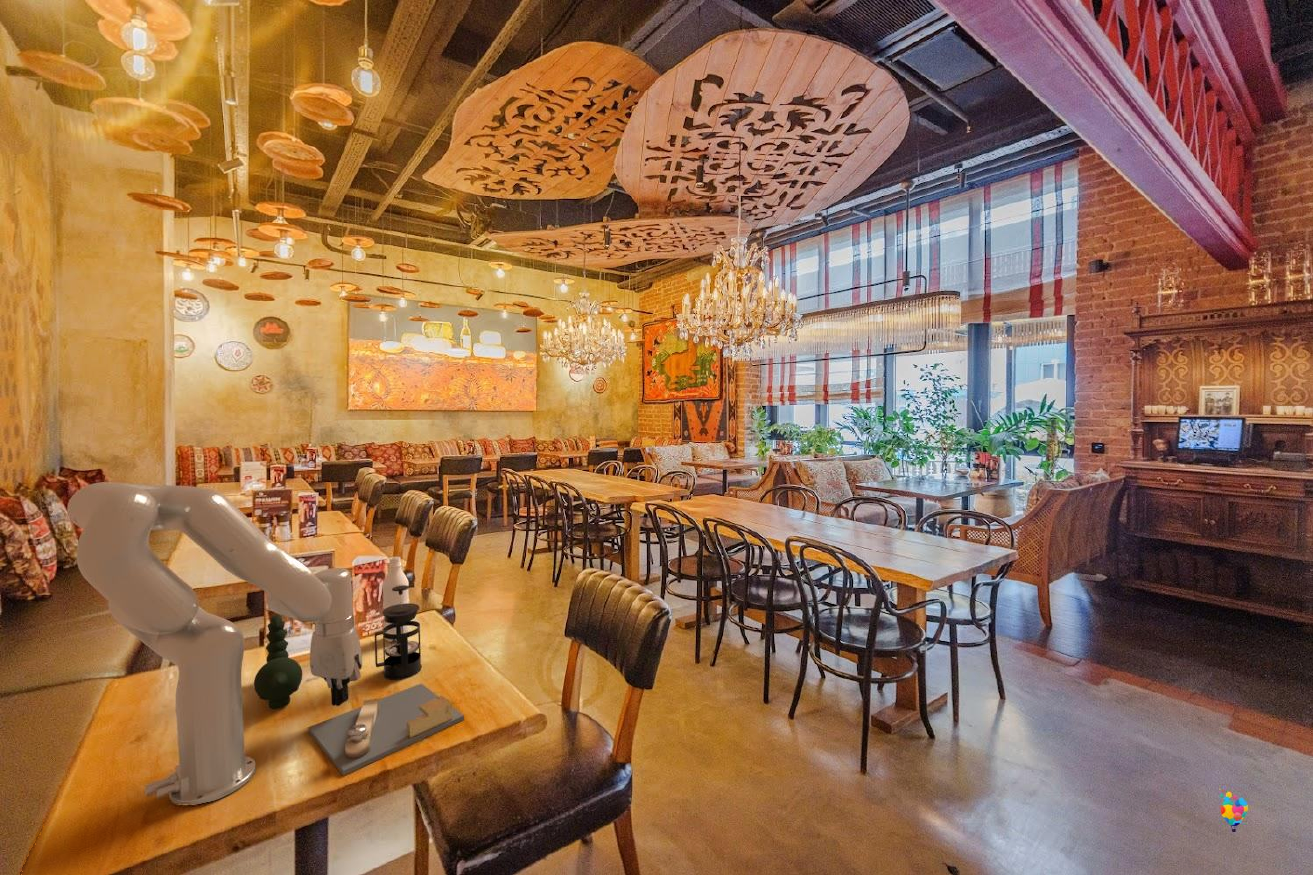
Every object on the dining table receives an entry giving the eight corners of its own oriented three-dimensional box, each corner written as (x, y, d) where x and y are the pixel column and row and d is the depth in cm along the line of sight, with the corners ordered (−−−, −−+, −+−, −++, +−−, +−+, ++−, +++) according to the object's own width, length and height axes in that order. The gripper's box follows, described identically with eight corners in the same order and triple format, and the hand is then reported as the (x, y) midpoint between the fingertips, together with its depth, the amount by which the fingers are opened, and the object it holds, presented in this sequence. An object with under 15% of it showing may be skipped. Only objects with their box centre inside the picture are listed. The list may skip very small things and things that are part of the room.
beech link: (367, 755, 109) (367, 744, 109) (343, 760, 108) (342, 749, 107) (382, 707, 126) (382, 697, 126) (361, 710, 125) (360, 700, 125)
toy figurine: (256, 687, 140) (254, 726, 120) (253, 614, 140) (250, 640, 120) (300, 677, 145) (305, 712, 125) (297, 606, 146) (301, 629, 125)
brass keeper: (410, 738, 115) (409, 721, 115) (400, 730, 118) (400, 713, 118) (452, 719, 122) (452, 702, 122) (442, 711, 125) (442, 695, 125)
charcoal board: (343, 775, 105) (343, 770, 105) (308, 731, 119) (308, 727, 119) (464, 719, 124) (463, 715, 123) (421, 687, 137) (421, 683, 137)
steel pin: (351, 746, 108) (351, 735, 108) (345, 739, 110) (345, 729, 110) (368, 739, 110) (368, 728, 110) (362, 732, 113) (362, 722, 112)
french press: (421, 658, 152) (419, 578, 151) (427, 673, 145) (425, 588, 143) (374, 669, 146) (371, 585, 145) (377, 685, 138) (375, 596, 137)
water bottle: (399, 645, 161) (397, 562, 159) (378, 642, 162) (376, 560, 161) (415, 634, 168) (413, 555, 166) (394, 632, 169) (392, 553, 168)
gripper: (292, 629, 120) (298, 708, 121) (351, 634, 117) (356, 715, 118) (319, 615, 127) (325, 690, 129) (375, 620, 124) (380, 696, 126)
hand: (340, 702), depth 124 cm, fingers closed
